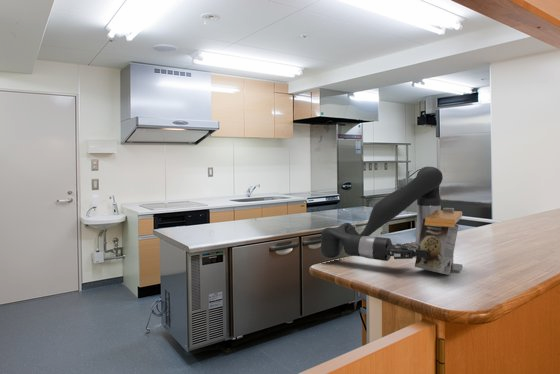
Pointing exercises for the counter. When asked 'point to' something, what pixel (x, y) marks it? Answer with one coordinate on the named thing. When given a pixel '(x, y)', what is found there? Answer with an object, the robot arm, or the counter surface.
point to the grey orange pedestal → (448, 220)
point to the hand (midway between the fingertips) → (429, 254)
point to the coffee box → (437, 247)
